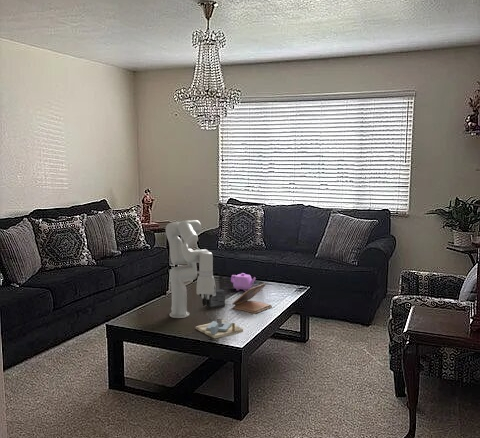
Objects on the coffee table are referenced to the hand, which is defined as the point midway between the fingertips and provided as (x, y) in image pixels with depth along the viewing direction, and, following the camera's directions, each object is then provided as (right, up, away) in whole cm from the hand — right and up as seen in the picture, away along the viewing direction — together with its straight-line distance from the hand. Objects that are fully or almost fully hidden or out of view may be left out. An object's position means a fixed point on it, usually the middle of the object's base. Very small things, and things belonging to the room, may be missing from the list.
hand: (206, 305), depth 291 cm
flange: (+6, -15, +6) cm, 17 cm away
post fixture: (+7, -16, +9) cm, 20 cm away
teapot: (+22, -5, +100) cm, 103 cm away
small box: (+3, -10, +58) cm, 59 cm away
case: (+27, -11, +54) cm, 61 cm away
